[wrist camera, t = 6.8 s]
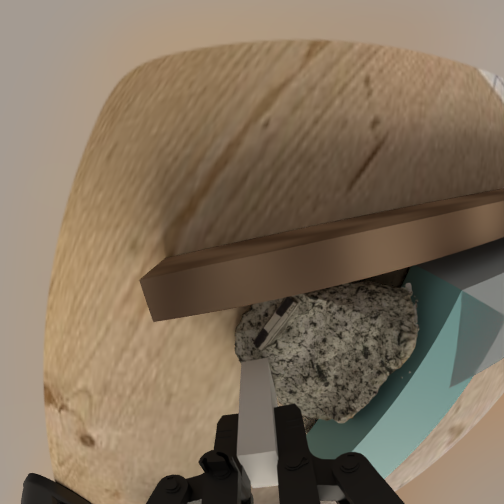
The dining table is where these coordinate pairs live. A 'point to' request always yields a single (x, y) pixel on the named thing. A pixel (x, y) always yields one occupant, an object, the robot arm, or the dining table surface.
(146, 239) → the dining table surface
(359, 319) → the rock sample
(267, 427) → the robot arm
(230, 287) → the walnut wall
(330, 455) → the grey teal angled block
